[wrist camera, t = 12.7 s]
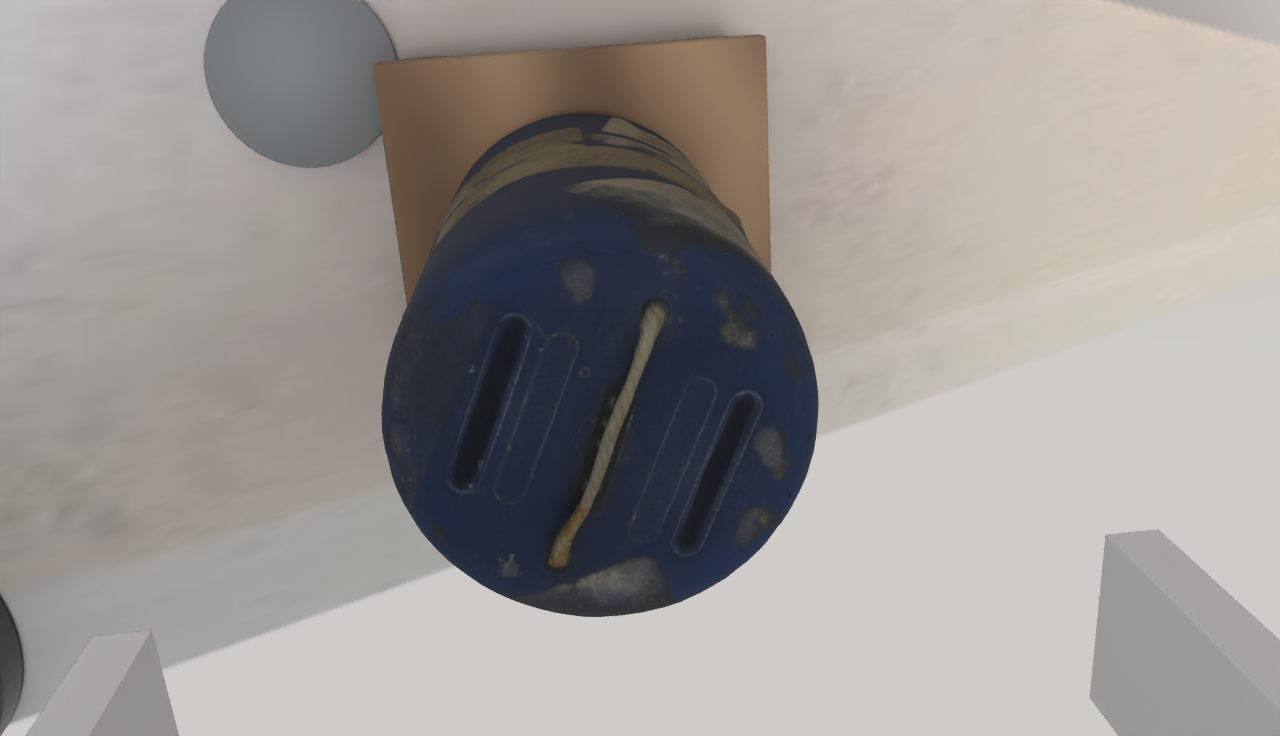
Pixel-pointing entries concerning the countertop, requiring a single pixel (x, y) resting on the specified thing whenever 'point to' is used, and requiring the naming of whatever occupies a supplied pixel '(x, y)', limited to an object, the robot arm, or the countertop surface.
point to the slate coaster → (298, 77)
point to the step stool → (574, 83)
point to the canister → (596, 377)
